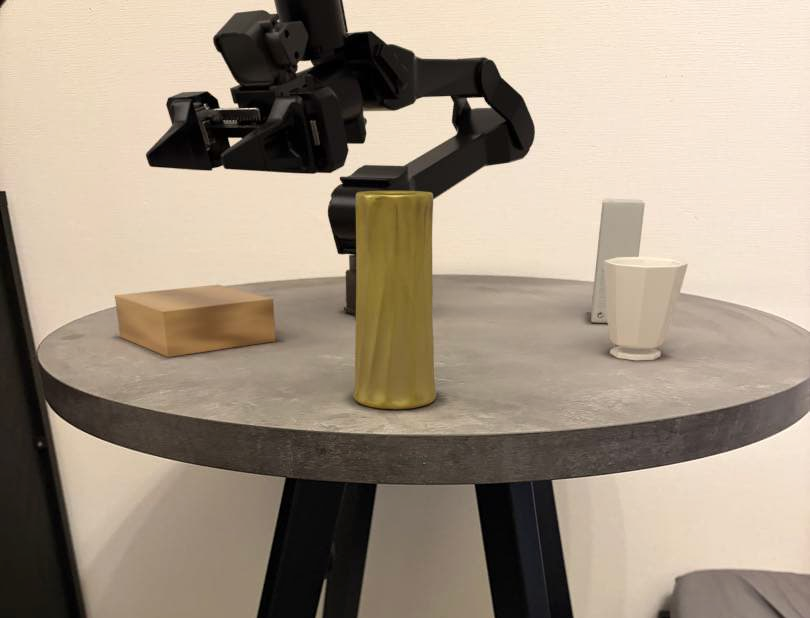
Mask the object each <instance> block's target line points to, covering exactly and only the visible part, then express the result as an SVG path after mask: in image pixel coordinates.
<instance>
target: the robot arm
mask: <svg viewBox="0 0 810 618" xmlns="http://www.w3.org/2000/svg"><path fill="white" fill-rule="evenodd" d="M273 2H274V7H275V11H276V13H269V12H268V11H267V10H264V9H259V10H258V9H257V10H249V11H248V10H247V11H239V12H235V13H233V15H232V16H231V17H230V18H229V19H228V21H226V23H225V24H224V25H223V26H222V27H221V28H220V29H219V30H218V31H217V32H216V33H215V35H213V37H212V42H213V45H214V46H213V47H214V48H215V49H216V52H217V53H220V56H221V57H222V59H223V61H224V63H225V64H226V66H227V68H228V70H229V72H230V73H231V76H232V78H233V80H235V82H236V83H237V85H235V86H232V87H229V91H230V94H231V98H232V102H233V104H234V105H237V107H221V106H220V104H219V103H220V102H219V100H218V98H217V97H215V96H214V95H213V94H212V93H211V92H209V91H208V90H203V91H182V92H179V93H177V94H174V95H172V96H169V97H167V100H166V103H165V106H166V109H167V113H168V115H169V116H168V117H169V118H170V122H171V126H170V127H169V128H168V130H167V131H166V132H165V133H164V134H163V135H162V136H161V137H160V138H159V139H158V140H157V141H156V142H155V143H154V144H153V145H152V146H151V148H149V150H148V151H146V153H145V158H146V161H147V164H148V166H149V167H151V168H159V169H160V168H161V169H174V170H187V171H188V170H189V171H207V172H212V171H213V169H216V168H220V167H223V168H224V169H225V170H233V171H249V172H266V173H267V172H268V173H282V174H304V175H314V174H332V173H333V172H335V171H337V170H339V169H341V168H343V167H344V166H345V164H346V162H347V157H348V155H349V151H350V150H349V146H348V145H363V144H365V142H366V138H367V129H366V127H367V123H368V119H367V118H366V117H365V115H364V112H395V111H398V110H401V109H404V108H406V107H409V106H412V105H414V104H415V103H416V101H417V100H419V99H422V98H434V97H436V98H439V97H440V98H441V97H450V99H451V100H452V103H453V106H452V113H451V124H452V126H453V128H454V129H455V131H456V134H455V135H453V136H452V137H450V138H448V139H447V140H445V141H443V142H442V143H440V144H438V145H437V146H435V147H432V148H431V149H430V150H428V151H426V152H425V153H423V154H421V155H419V156H418V157H416V158H414V159H413V160H411V161H408V163H406V164H404V165H386V164H385V165H383V164H380V165H379V164H364V165H362V166H360V167H358V168H357V169H356V170H355V171H354V172H352V173H351V174H350V175H347V176H339V181H340V182H341V183H340V184H338V185H337V186H336V187H334V189H333V190H332V191H331V193H330V200H329V202H328V205H327V217H328V222H329V226H330V229H331V232H332V237H333V241H334V245H335V248H336V251H337V254H338V255H348V269H346V271H345V303H346V304H345V305H344V306H343V311H344V312H347V313H350V314H352V315H355V316H356V204H355V203H356V193H357V192H365V191H422V192H431V193H432V194H433V201H434V200H436V199H437V198H439V197H440V196H442V195H443V194H444V193H446V192H448V191H449V190H451V189H452V188H454V187H455V186H457V185H458V184H460V183H462V182H463V181H464V180H466V179H467V178H469V177H471V176H472V175H474V174H475V173H477V172H478V171H480V170H481V169H483V168H485V167H490V166H495V165H498V166H499V165H504V164H509V163H513V162H514V163H515V162H518V161H521V160H523V159H524V158H525V157H526V156H527V155H528V153H529V152H530V150H531V148H532V146H533V144H534V141H535V137H536V135H535V134H536V128H535V123H534V120H533V117H532V115H531V113H530V111H529V108H528V106H527V104H526V101H525V99H524V97H523V96H522V95H521V94H520V92H518V91H517V90H516V89H515V88H514V87H513V86H511V84H509V83H508V82H507V81H506V79H504V78H503V77H502V76H501V73H500V71H499V69H498V67H497V64H496V62H495V61H494V60H492V59H489V58H487V57H485V56H481V57H465V58H464V57H463V58H423V57H419V56H416V54H415V52H414V51H413V50H411V49H409V48H405V47H402V46H400V45H397V44H394V43H387V42H385V41H384V40H383V39H381V37H379V36H378V35H377V34H376V33H374V32H373V31H372V30H368V31H367V30H366V31H355V32H349V30H348V23H347V18H346V13H345V8H344V1H343V0H273ZM299 62H310V63H311V64H312V66H310V67H308V68H306V69H303V70H301V71H299V72H298V69H299V65H298V63H299ZM475 98H477V99H478V98H479V99H481V98H483V99H484V102H485V103H486V105H488V107H475V108H472V107H471V105H470V102H469V101H468V99H475ZM230 139H240V140H238V141H237V142H235V143H233V144H232V145H231V142H230Z"/></svg>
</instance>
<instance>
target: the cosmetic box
mask: <svg viewBox="0 0 810 618" xmlns="http://www.w3.org/2000/svg"><path fill="white" fill-rule="evenodd" d="M645 204H646V203H645V202H644V201H643V200H642V199H636V198H635V199H634V198H633V199H632V198H631V199H630V198H627V199H626V198H603V199H602V203H601V213H600V222H599V229H598V242H597V251H596V261H595V272H594V280H593V289H592V297H591V298H592V299H591V310H590V311H591V312H590V315H591V316H590V322H591V323H597V324H608V322H607V313H606V288H605V271H604V261H605V260H609V259H613V258H617V257H640V246H641V240H642V231H643V222H644V212H645Z"/></svg>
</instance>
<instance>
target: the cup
mask: <svg viewBox="0 0 810 618" xmlns="http://www.w3.org/2000/svg"><path fill="white" fill-rule="evenodd" d="M688 265H689V263H688V262H685V261H681V260H678V259H674V258H666V257H665V258H664V257H655V256H653V257H652V256H639V257H617V258H613V259H609V260H605V261H604V271H605V288H606V313H607V322H608V323H607V327H608V335H609V341H610V342H612V343H613V344H614V345H617V346H615V347H613V348H611V349H610V351H609V354H610V355H611V356H613V357H615V358H617V359H623V360H630V361H654V360H656V359H658V358H660V357H661V355H662V352H661V351H660V350H658V349H656V348H657V347H659V346H661V345H662V344H664V342H665V340H666V337H667V335H668V331H669V329H670V326H671V324H672V322H673V318H674V315H675V311H676V308H677V305H678V300H679V298H680V293H681V290H682V287H683V284H684V280H685V276H686V274H687V273H686V272H687V269H688Z"/></svg>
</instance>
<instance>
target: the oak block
mask: <svg viewBox="0 0 810 618" xmlns="http://www.w3.org/2000/svg"><path fill="white" fill-rule="evenodd" d="M114 302H115V308H116V317H117V322H118V323H117V324H118V331H119V337H120V338H122V339H124V340H126V341H129V342H131V343H134V344H136V345H138V346H140V347H143V348H145V349H148V350H150V351H152V352H155V353H157V354H160V355H162V356H164V357H167V358H171V357H179V356H185V355H193V354H200V353H206V352H214V351H219V350H226V349H233V348H239V347H246V346H252V345H253V346H254V345H260V344H266V343H267V344H268V343H273V342H276V325H275V323H276V322H275V309H274V298H273V297H268V296H264V295H260V294H256V293H253V292H252V293H251V292H248V291H245V290H240V289H236V288H233V287H229V286H226V285H221V284H212V285H211V284H210V285H201V286H191V287H182V288H181V287H179V288H173V289H160V290H152V291H142V292H141V291H140V292H132V293H122V294H114Z"/></svg>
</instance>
